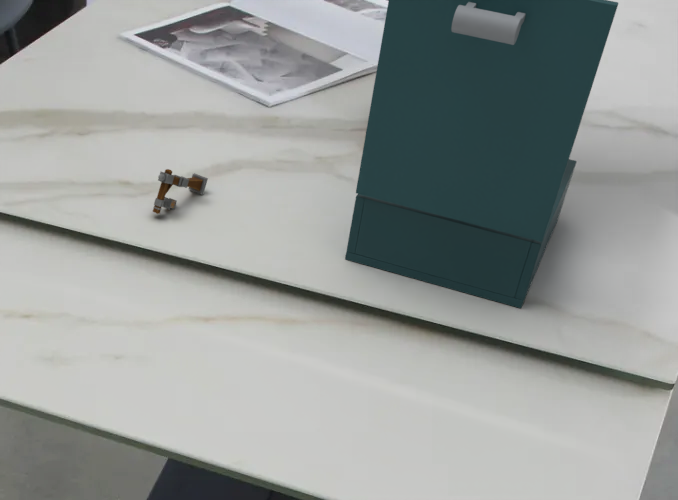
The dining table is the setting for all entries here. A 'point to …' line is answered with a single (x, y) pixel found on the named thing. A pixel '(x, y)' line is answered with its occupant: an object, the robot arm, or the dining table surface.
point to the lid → (481, 106)
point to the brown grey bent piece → (168, 180)
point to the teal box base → (449, 248)
